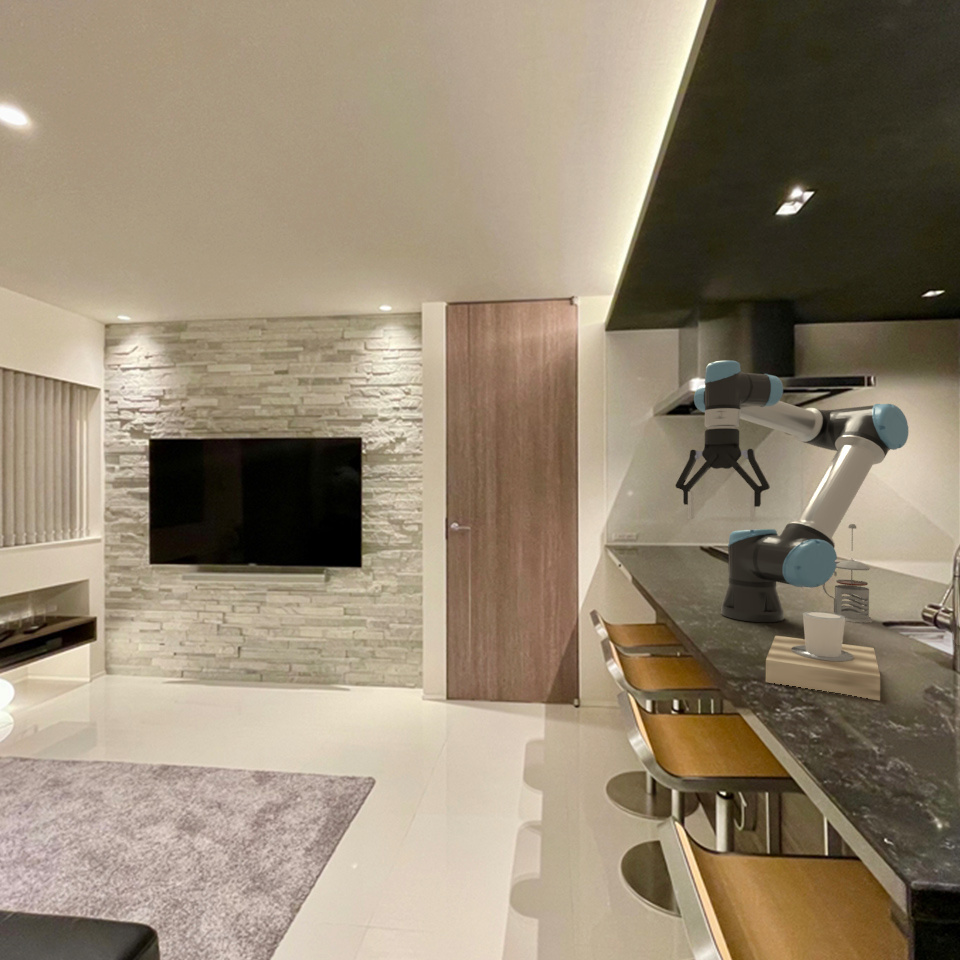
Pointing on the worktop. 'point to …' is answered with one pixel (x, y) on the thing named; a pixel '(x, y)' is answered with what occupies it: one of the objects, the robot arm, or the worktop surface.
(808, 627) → the tapered cream cylinder
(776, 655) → the birch stand
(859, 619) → the french press
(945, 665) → the worktop surface
